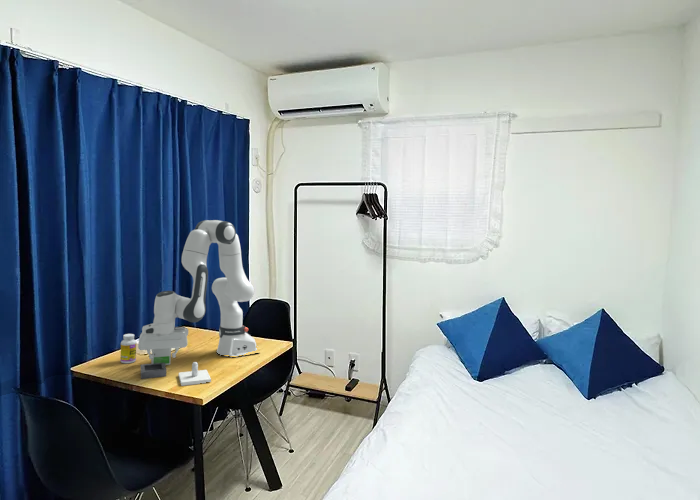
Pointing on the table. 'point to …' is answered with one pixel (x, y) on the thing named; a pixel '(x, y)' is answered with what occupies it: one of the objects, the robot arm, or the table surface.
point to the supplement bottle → (128, 349)
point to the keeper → (194, 376)
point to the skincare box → (161, 356)
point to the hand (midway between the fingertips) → (162, 358)
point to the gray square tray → (153, 370)
